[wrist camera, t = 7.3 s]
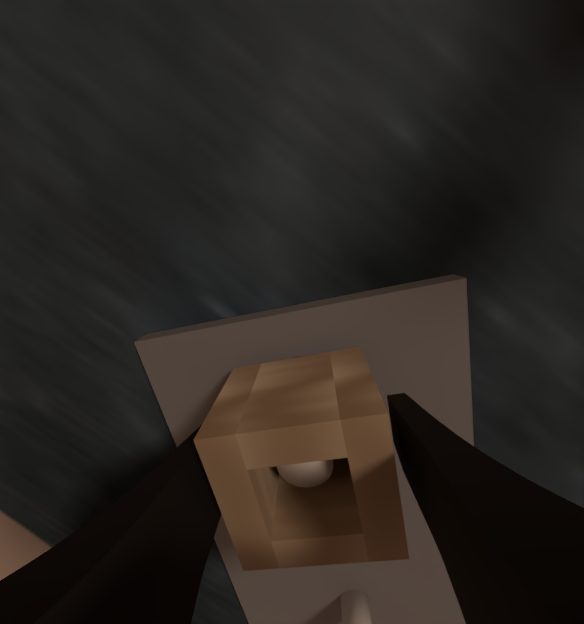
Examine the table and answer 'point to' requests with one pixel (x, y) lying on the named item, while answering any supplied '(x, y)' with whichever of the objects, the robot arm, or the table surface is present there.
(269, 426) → the ash collar
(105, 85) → the table surface
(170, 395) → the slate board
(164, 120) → the table surface
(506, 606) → the robot arm
